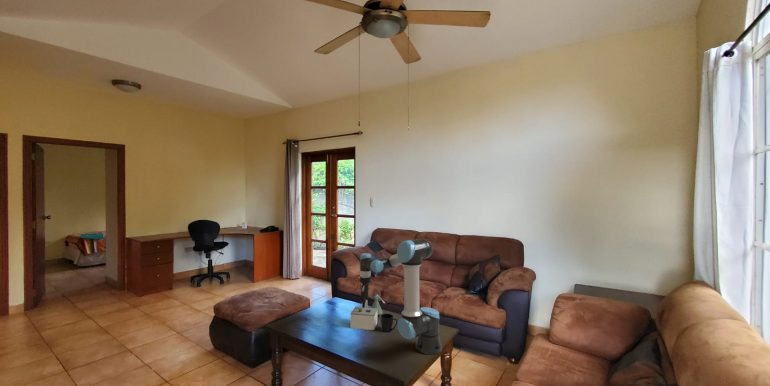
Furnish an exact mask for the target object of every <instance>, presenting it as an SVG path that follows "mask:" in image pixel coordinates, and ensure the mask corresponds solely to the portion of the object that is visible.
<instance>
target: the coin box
mask: <svg viewBox="0 0 770 386" xmlns="http://www.w3.org/2000/svg"><path fill="white" fill-rule="evenodd" d="M377 312H378V309H377V308H371V307H367V310H366V312H362V306H361V307H360V306H355V307H354V308H353V309H352V311H351V312H350V329H358V330H366V331H367V330H368V331H375V330H376V329H375V328H376V326H377V324H378V317H377Z"/></svg>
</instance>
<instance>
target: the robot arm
mask: <svg viewBox="0 0 770 386" xmlns="http://www.w3.org/2000/svg"><path fill="white" fill-rule="evenodd" d="M433 252H434V247H433V244H432V243H431V241H430V240H428V239H425V238H419V239H418V238H417V239H407V240H403V241H401V242H400V243H399V244H398V247H397V250H396V253H395V254H392V255H390V256H388V257H382V258H372V253H369V252H367V253H366V252H365V253H361V254H360V256H359V257H360V258H359V271H358V273H359V283H360V284H362V285H361V289H360V295H361V297H360V298H361V299H360V303H361V307H362V312H366V310H367V308H368V302H367V300H369V299H370V298H369V284H370V283H371V282H372V278H371V277H372V272H374V273H381V272H382V271H384V270H389V269H395V268H397V267H398V266H403V285H404V287H403V292H404V293H403V297H404V298H403V299H404V300H403V301H404V303H403V307H404V308H403V310H402V311H401V317H400V318H399V319H398V322H397V325H396V327H397V330H398V331H399V333H400V335H401V337H402V338H404V339H407V340H411V339H415V338H417V339H416V341H415V349H416V351H418V352H419V353H421V354H425V355H431V356H432V355H438V354H440V353H441V352H442V350H443V349H442V343H441V339H440V312H439V311H438V310H437V309H435V308H432V307H426V306H425V307H424V306H423V307H420V268H421V266H423V265H422V264H423V260H425V259H428V258H430V257H431V256H432V255H433ZM369 301H370V300H369Z"/></svg>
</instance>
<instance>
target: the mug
mask: <svg viewBox="0 0 770 386" xmlns="http://www.w3.org/2000/svg"><path fill="white" fill-rule="evenodd" d="M398 320H399V319H397V318H394V315H393V314H391V313H382V314H380V324H381V329H382V332H384V333H389V332H392V331H394V330H395V328H396V327H397V322H398ZM394 321H396V323H395V325H393V324H394Z"/></svg>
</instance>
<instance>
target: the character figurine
mask: <svg viewBox="0 0 770 386" xmlns="http://www.w3.org/2000/svg"><path fill="white" fill-rule="evenodd" d="M370 300H374V301H373V302H372V306H371V307H370V308H377V309H378V312H377V318H378V317H380V315H382V314H384V313H383V310H382V307H381V305H380V302H379V300H380V301H381V302H382V304H384V305H386V302H385V301H384V300H383V298H382V297H380V295H379V292H378V291H375V292H374V295H373V296H372V297H370V298H369V300H367V303H368V302H369V301H370Z"/></svg>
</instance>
